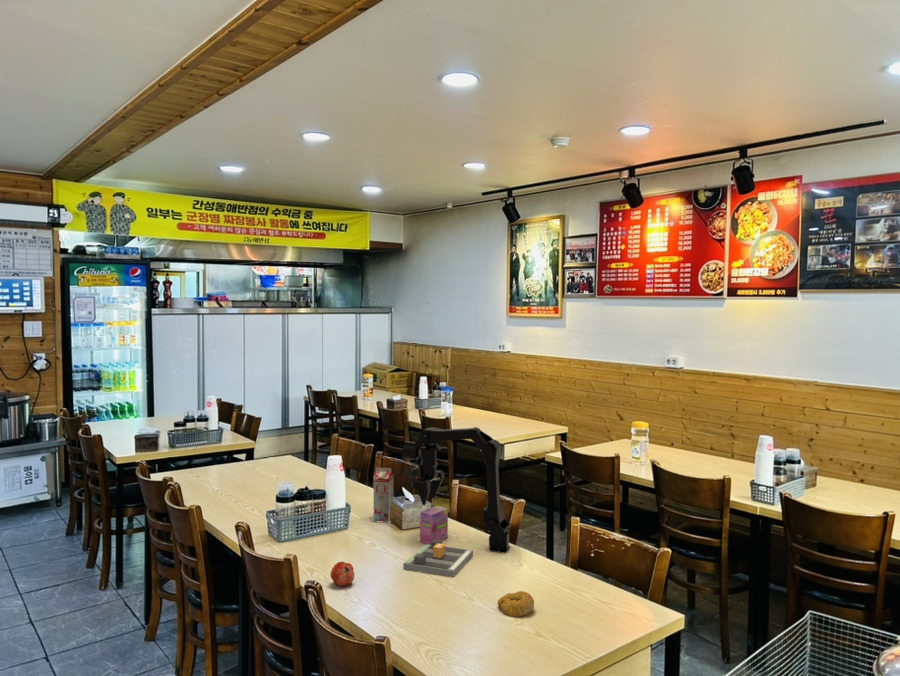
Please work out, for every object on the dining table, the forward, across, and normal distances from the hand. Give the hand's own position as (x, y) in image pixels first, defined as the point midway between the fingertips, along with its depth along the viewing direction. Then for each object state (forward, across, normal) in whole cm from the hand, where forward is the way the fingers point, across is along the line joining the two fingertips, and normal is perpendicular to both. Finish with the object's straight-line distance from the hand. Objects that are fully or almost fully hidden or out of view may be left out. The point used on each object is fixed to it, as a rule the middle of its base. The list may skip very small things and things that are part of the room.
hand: (428, 501), depth 244 cm
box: (+15, 0, +2) cm, 15 cm away
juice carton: (+15, -15, -27) cm, 34 cm away
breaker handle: (+12, +20, +12) cm, 27 cm away
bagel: (+15, +45, +46) cm, 66 cm away
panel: (+15, +20, +12) cm, 28 cm away
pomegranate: (+15, +48, -10) cm, 51 cm away
